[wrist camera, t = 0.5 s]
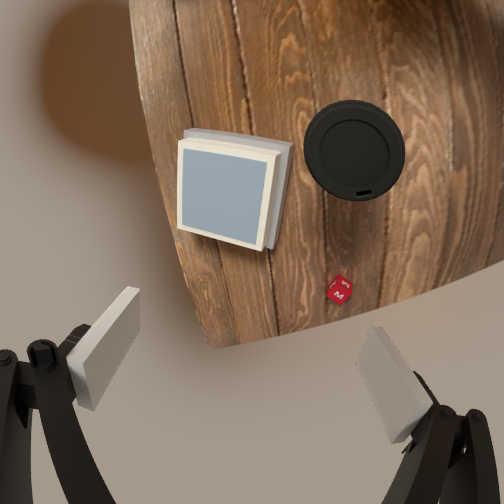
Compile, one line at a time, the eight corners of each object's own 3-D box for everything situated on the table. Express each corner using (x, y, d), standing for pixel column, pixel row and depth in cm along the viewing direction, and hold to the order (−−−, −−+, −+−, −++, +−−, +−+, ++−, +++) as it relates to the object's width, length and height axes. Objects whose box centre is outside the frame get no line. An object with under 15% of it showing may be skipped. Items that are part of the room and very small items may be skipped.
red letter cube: (352, 283, 46) (351, 294, 44) (341, 294, 48) (340, 305, 46) (339, 273, 46) (337, 284, 44) (328, 285, 48) (326, 295, 46)
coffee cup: (378, 95, 31) (393, 90, 19) (396, 164, 35) (417, 198, 23) (309, 110, 35) (285, 114, 23) (329, 176, 39) (316, 215, 27)
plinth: (193, 127, 42) (172, 133, 37) (294, 143, 38) (284, 150, 33) (190, 217, 51) (171, 232, 46) (277, 240, 47) (266, 259, 42)
